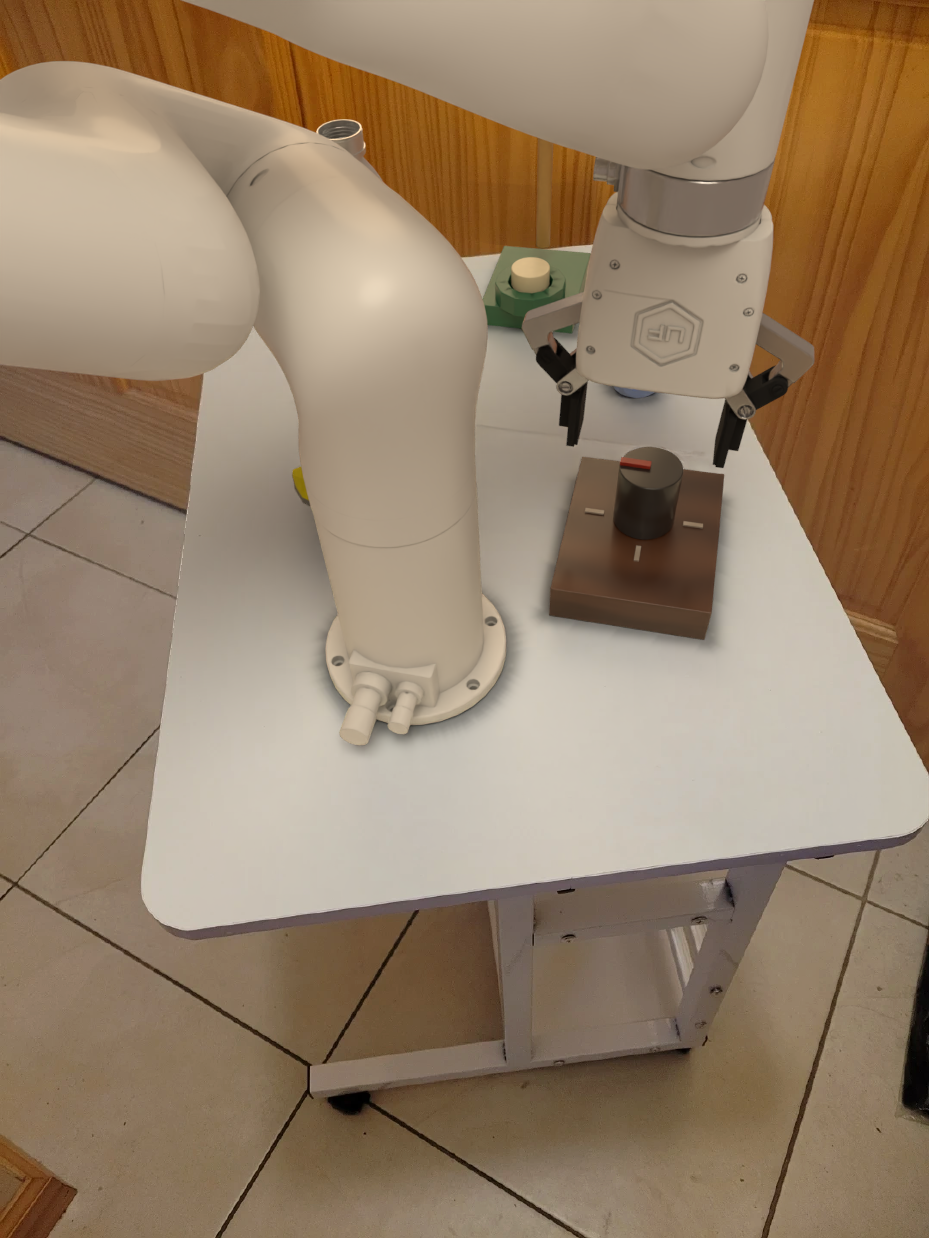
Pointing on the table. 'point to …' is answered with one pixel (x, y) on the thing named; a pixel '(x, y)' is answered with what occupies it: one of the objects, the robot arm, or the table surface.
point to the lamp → (544, 193)
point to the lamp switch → (530, 275)
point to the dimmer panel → (638, 558)
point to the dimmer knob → (647, 492)
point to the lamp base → (513, 305)
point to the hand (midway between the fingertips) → (645, 443)
